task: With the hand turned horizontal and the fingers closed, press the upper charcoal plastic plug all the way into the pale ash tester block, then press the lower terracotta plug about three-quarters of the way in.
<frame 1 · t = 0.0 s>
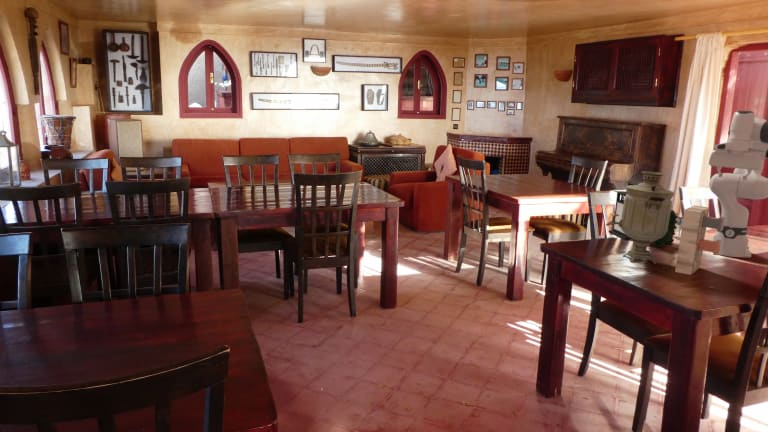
hand: (732, 178, 250), 39 cm above the table, tool pointing down, fingers open, 8 cm apart
samovar: (632, 259, 258), on the table
goblet set: (661, 234, 313), on the table
toy figurine: (661, 246, 286), on the table
terracotta plug: (706, 245, 238), point 12 cm above the table, slide at 0.0 cm
tester block: (687, 269, 244), on the table
lantern: (631, 236, 304), on the table
charcoal plug: (710, 222, 236), point 22 cm above the table, slide at 0.0 cm
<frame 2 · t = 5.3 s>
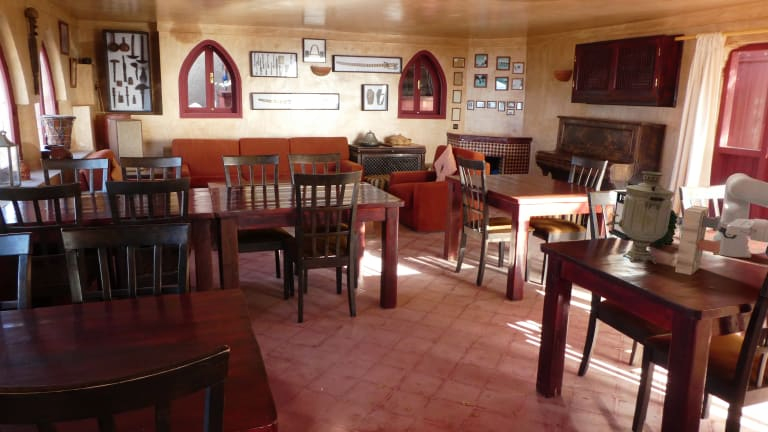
hand: (718, 223, 233), 22 cm above the table, tool horizontal, fingers closed, pressing on charcoal plug
charcoal plug: (706, 221, 237), point 22 cm above the table, slide at 1.5 cm, touching gripper
everything else where it was.
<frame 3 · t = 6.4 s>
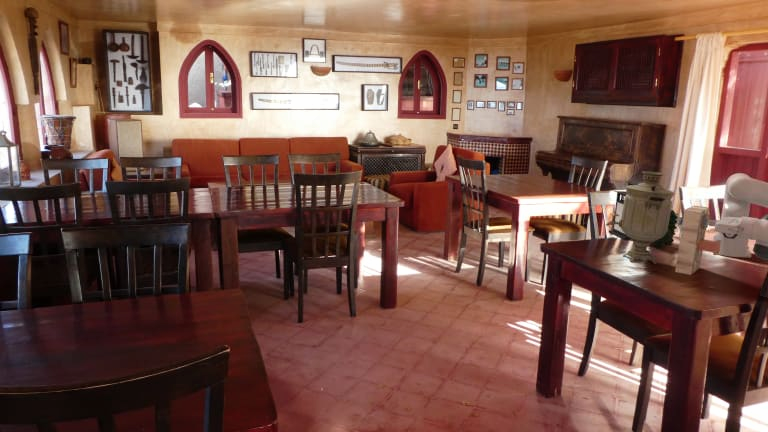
hand: (707, 221, 236), 22 cm above the table, tool horizontal, fingers closed, pressing on charcoal plug
charcoal plug: (694, 220, 239), point 22 cm above the table, slide at 5.8 cm, touching gripper
everything else where it was.
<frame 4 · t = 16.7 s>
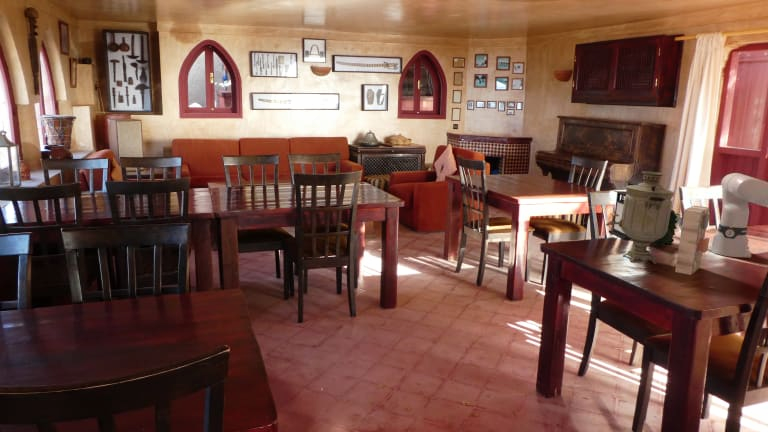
hand: (763, 202, 229), 32 cm above the table, tool horizontal, fingers closed
terracotta plug: (694, 243, 240), point 12 cm above the table, slide at 4.4 cm
charcoal plug: (694, 220, 239), point 22 cm above the table, slide at 5.8 cm
at the end: charcoal plug slide at 5.8 cm; terracotta plug slide at 4.4 cm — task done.
